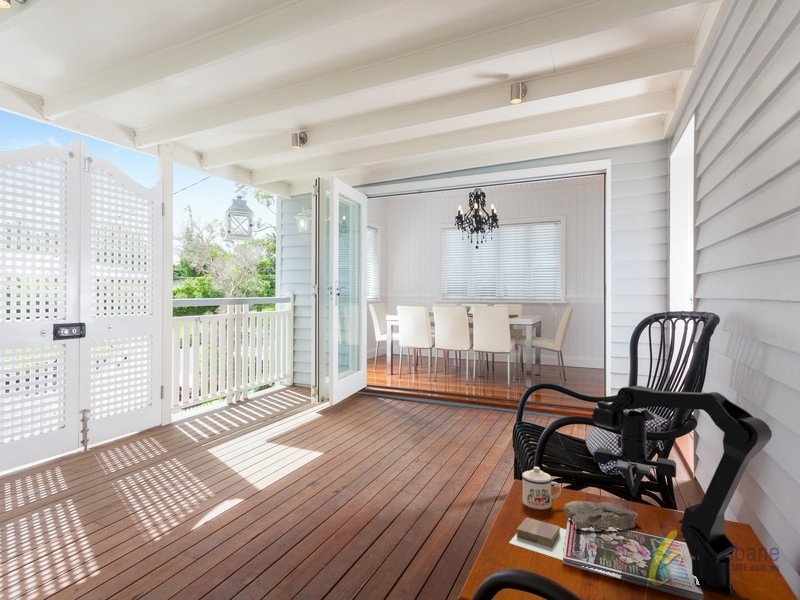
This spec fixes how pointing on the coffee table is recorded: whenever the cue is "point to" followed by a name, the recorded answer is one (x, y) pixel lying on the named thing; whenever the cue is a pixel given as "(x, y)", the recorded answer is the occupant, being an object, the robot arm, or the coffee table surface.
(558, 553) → the sage mat
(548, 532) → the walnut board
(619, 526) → the grey rock
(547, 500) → the teacup with lid
